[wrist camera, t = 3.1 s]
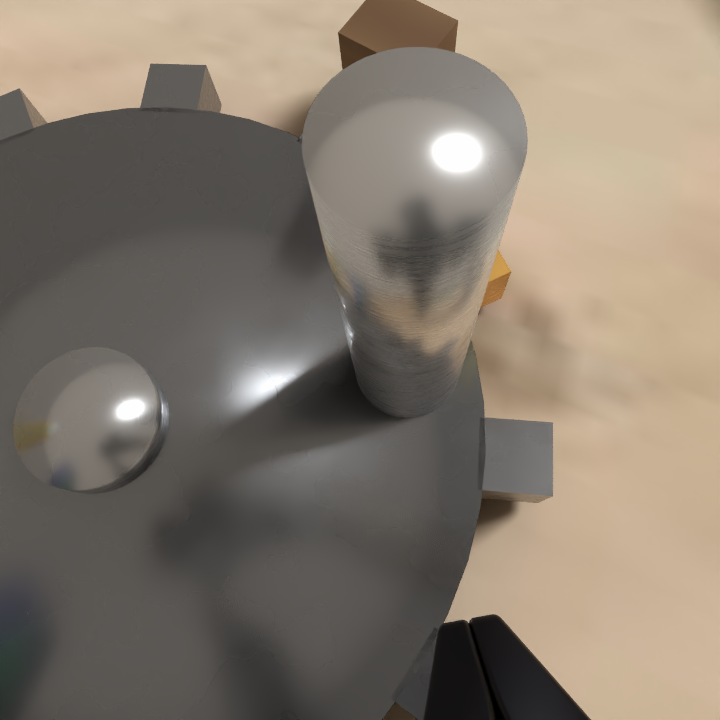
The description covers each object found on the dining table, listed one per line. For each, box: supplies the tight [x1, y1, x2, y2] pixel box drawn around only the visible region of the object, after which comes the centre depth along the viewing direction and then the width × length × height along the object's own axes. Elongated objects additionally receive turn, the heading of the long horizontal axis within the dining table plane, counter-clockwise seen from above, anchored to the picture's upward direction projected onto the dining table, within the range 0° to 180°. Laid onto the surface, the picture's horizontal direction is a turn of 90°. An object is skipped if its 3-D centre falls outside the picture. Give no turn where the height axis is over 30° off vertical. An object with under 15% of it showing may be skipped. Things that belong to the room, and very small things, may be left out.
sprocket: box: [0, 47, 553, 720], centre depth 14 cm, size 25×25×12 cm
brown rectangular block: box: [338, 0, 458, 69], centre depth 22 cm, size 2×3×4 cm
